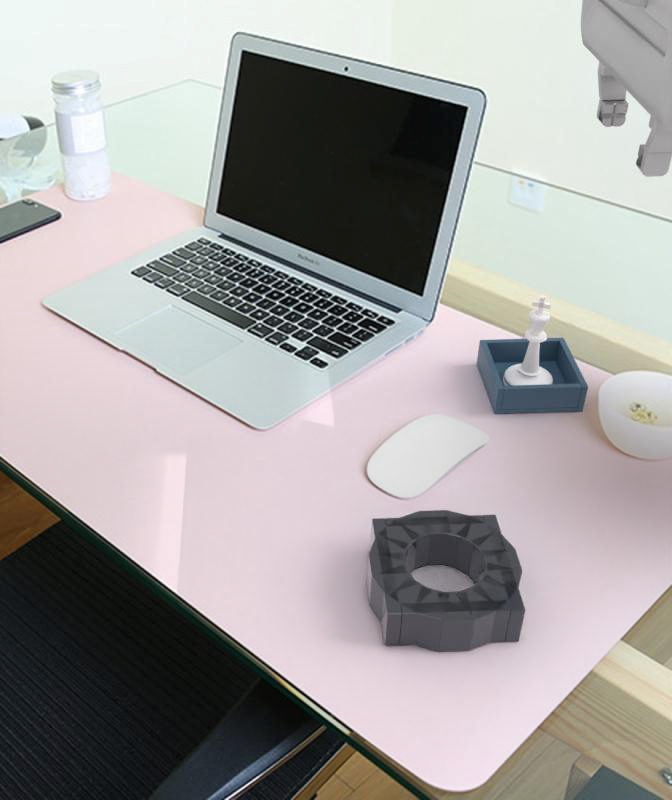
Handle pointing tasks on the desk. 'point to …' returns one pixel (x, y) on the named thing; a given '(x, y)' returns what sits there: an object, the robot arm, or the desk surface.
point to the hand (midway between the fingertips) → (629, 146)
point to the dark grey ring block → (435, 610)
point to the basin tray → (531, 398)
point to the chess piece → (532, 351)
